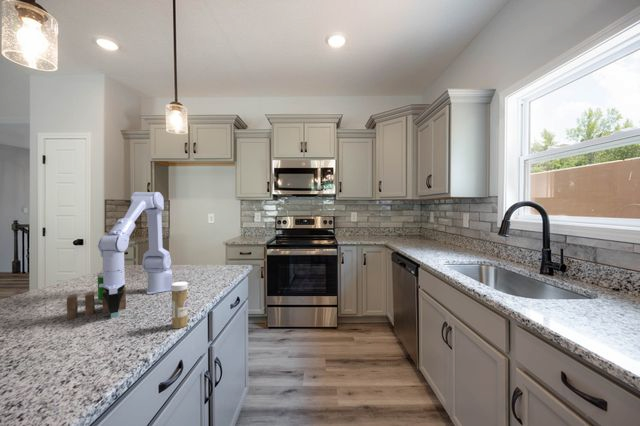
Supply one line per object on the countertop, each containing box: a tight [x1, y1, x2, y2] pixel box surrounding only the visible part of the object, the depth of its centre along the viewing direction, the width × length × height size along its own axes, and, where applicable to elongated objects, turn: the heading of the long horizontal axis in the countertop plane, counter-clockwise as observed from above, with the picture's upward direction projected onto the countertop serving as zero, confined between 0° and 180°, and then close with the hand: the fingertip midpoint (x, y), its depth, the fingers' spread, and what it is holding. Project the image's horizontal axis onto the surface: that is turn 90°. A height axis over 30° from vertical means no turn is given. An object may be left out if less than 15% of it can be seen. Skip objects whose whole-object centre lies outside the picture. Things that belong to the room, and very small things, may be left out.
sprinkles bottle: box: [171, 281, 189, 329], centre depth 81 cm, size 5×5×14 cm
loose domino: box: [110, 310, 120, 319], centre depth 89 cm, size 2×4×7 cm, turn 36°
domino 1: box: [66, 293, 79, 321], centre depth 88 cm, size 2×4×7 cm, turn 36°
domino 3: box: [101, 290, 110, 314], centre depth 93 cm, size 2×4×7 cm, turn 36°
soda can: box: [97, 270, 105, 304], centre depth 102 cm, size 8×8×12 cm
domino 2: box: [84, 291, 96, 317], centre depth 91 cm, size 2×4×7 cm, turn 36°
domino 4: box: [119, 286, 127, 311], centre depth 96 cm, size 2×4×7 cm, turn 36°
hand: (114, 309), depth 89 cm, fingers open, 6 cm apart
